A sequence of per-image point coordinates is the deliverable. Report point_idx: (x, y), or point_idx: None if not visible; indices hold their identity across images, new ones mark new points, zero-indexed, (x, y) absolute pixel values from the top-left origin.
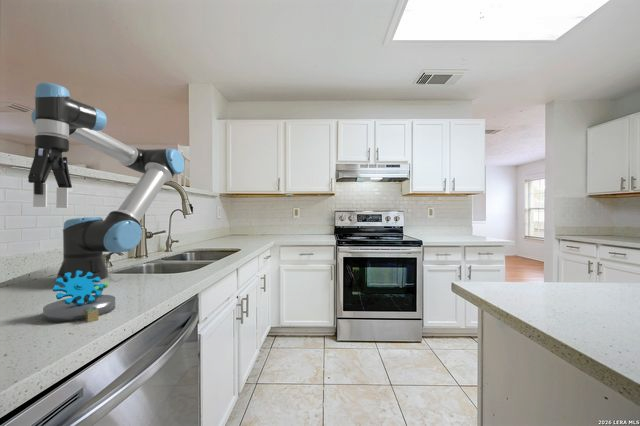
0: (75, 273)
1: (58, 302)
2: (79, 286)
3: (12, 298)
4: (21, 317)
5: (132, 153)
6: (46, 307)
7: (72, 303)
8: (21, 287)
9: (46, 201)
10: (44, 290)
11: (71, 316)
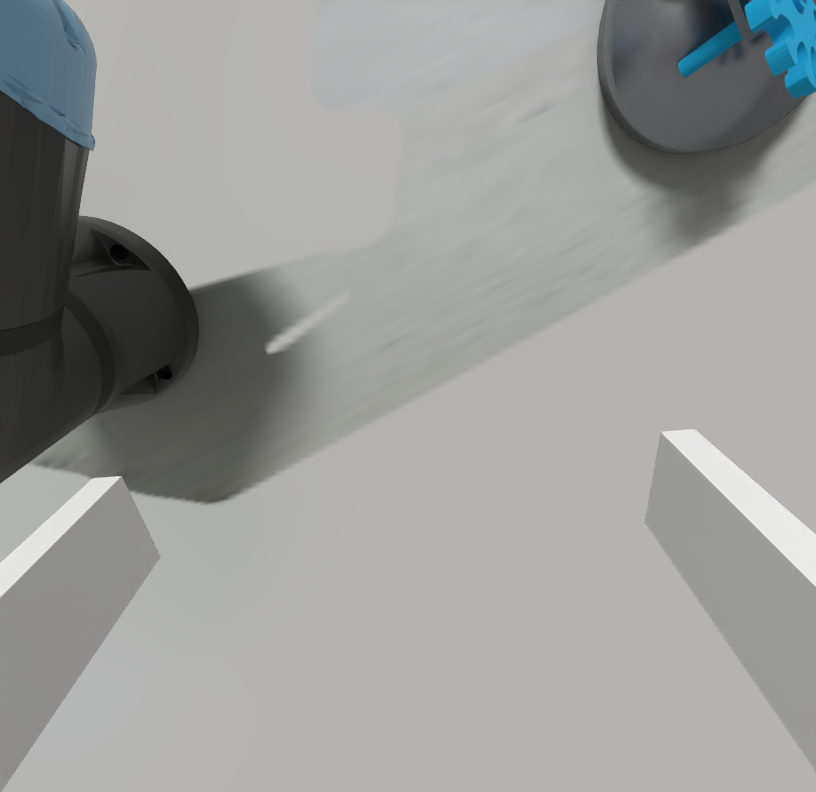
0: (759, 30)
1: (686, 123)
2: None
3: (403, 389)
4: (666, 227)
5: None
6: (746, 131)
7: (736, 48)
8: (249, 449)
9: (720, 468)
10: (307, 354)
11: None
